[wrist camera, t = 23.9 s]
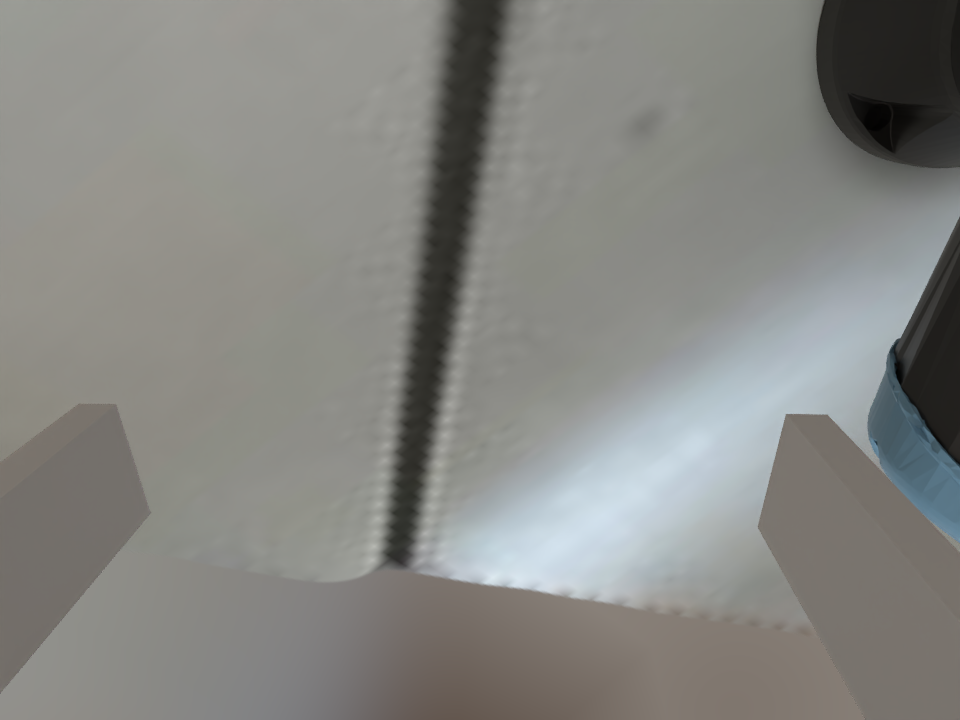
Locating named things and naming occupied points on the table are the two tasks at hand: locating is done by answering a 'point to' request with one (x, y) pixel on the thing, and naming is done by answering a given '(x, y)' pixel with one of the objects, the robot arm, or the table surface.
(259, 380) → the table surface
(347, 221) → the table surface
